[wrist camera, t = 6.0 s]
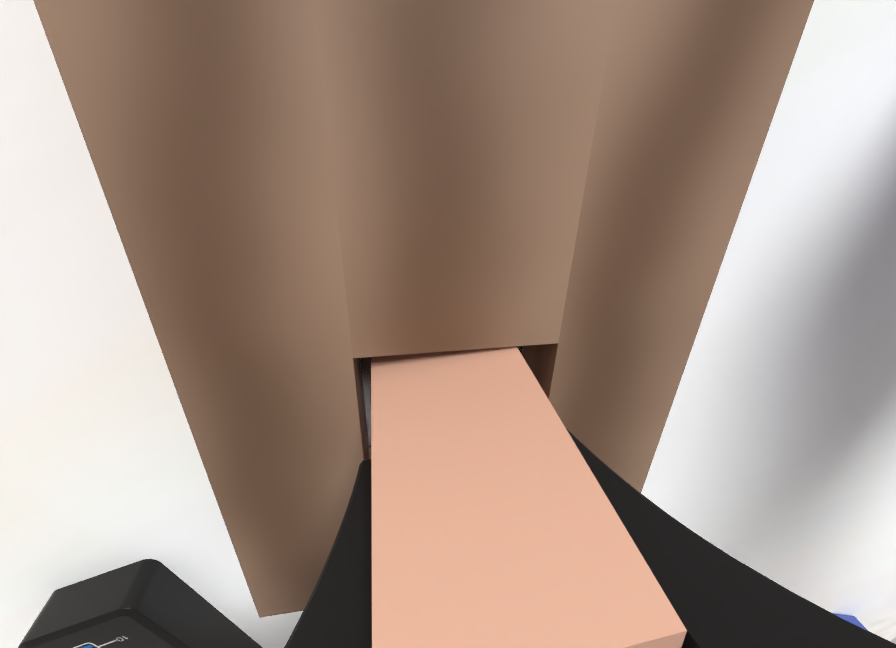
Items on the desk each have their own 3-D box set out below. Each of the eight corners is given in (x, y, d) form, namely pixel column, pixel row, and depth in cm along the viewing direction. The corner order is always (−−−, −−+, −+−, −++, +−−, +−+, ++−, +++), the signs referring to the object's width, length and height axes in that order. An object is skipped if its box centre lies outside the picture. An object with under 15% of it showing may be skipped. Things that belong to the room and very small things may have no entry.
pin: (505, 328, 12) (686, 631, 5) (511, 428, 14) (648, 745, 7) (371, 353, 12) (371, 714, 5) (395, 452, 14) (422, 810, 7)
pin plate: (743, -61, 10) (851, -108, 7) (589, 507, 19) (617, 559, 17) (74, -124, 8) (-45, -215, 5) (273, 551, 17) (259, 617, 15)
